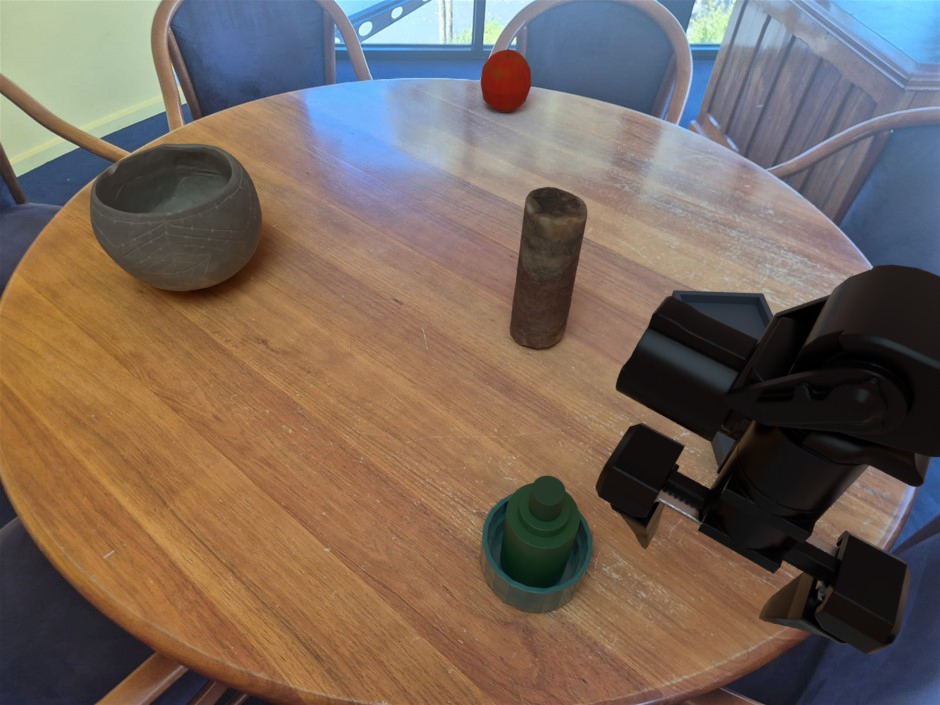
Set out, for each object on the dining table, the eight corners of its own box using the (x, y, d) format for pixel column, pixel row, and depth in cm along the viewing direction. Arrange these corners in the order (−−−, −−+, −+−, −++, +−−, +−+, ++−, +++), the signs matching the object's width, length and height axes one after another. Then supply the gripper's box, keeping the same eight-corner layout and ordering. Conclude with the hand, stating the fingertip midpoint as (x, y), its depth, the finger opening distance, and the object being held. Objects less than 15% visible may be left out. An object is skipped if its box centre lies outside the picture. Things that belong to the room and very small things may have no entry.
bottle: (578, 556, 61) (602, 487, 51) (539, 605, 57) (557, 541, 48) (526, 516, 64) (540, 444, 54) (486, 561, 60) (494, 492, 51)
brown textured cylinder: (531, 304, 86) (549, 177, 72) (576, 329, 83) (603, 201, 69) (498, 333, 82) (509, 205, 68) (543, 360, 79) (565, 231, 65)
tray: (841, 495, 67) (850, 485, 66) (725, 491, 67) (731, 481, 65) (758, 303, 88) (763, 293, 86) (669, 300, 88) (673, 289, 86)
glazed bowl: (604, 558, 61) (614, 534, 58) (542, 638, 56) (549, 617, 52) (523, 496, 66) (527, 471, 62) (459, 565, 60) (459, 541, 57)
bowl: (232, 330, 82) (199, 236, 71) (90, 303, 84) (36, 209, 73) (297, 236, 96) (278, 146, 85) (173, 216, 98) (139, 126, 87)
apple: (490, 92, 132) (493, 35, 123) (535, 102, 129) (541, 44, 121) (472, 112, 125) (473, 53, 117) (518, 122, 123) (524, 63, 114)
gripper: (986, 451, 36) (854, 564, 48) (686, 317, 43) (634, 444, 55) (964, 607, 30) (819, 694, 42) (616, 422, 37) (574, 540, 48)
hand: (702, 577), depth 47 cm, fingers open, 9 cm apart
